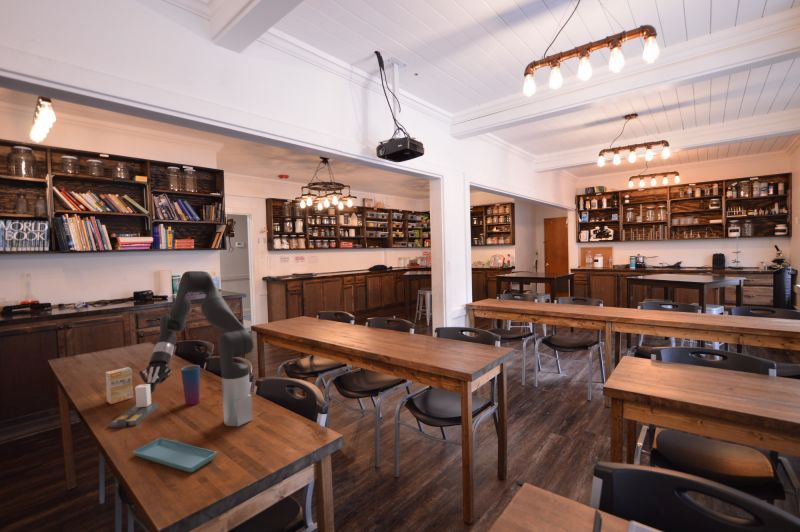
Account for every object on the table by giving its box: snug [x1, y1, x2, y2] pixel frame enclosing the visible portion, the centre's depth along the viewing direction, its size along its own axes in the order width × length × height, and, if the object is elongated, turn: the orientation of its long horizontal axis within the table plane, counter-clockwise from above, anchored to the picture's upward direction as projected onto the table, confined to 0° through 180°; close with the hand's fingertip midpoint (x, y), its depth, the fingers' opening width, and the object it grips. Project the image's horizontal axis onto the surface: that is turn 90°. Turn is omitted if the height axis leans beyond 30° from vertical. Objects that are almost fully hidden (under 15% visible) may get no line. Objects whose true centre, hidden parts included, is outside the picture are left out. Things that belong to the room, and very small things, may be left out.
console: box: [109, 399, 160, 429], centre depth 145 cm, size 18×9×3 cm, turn 7°
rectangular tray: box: [132, 437, 218, 474], centre depth 116 cm, size 26×9×2 cm, turn 66°
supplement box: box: [105, 366, 134, 405], centre depth 161 cm, size 8×5×13 cm, turn 143°
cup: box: [180, 364, 201, 406], centre depth 156 cm, size 7×7×15 cm
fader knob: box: [134, 383, 152, 407], centre depth 150 cm, size 3×4×8 cm
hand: (149, 392), depth 154 cm, fingers closed
